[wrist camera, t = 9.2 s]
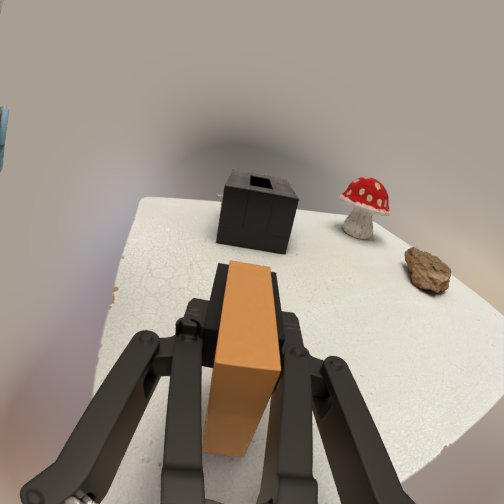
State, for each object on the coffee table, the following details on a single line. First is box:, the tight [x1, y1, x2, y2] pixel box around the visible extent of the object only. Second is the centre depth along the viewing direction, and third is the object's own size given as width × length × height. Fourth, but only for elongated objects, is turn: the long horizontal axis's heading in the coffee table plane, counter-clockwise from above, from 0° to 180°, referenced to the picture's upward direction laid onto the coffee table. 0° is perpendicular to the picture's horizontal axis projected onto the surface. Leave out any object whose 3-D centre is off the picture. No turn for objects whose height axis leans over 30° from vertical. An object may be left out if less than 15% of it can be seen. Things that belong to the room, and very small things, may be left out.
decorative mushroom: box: [340, 177, 391, 239], centre depth 65 cm, size 14×14×15 cm
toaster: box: [216, 170, 299, 254], centre depth 54 cm, size 13×18×10 cm
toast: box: [202, 261, 281, 457], centre depth 15 cm, size 2×8×8 cm, turn 0°
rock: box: [405, 247, 451, 293], centre depth 48 cm, size 13×11×5 cm
